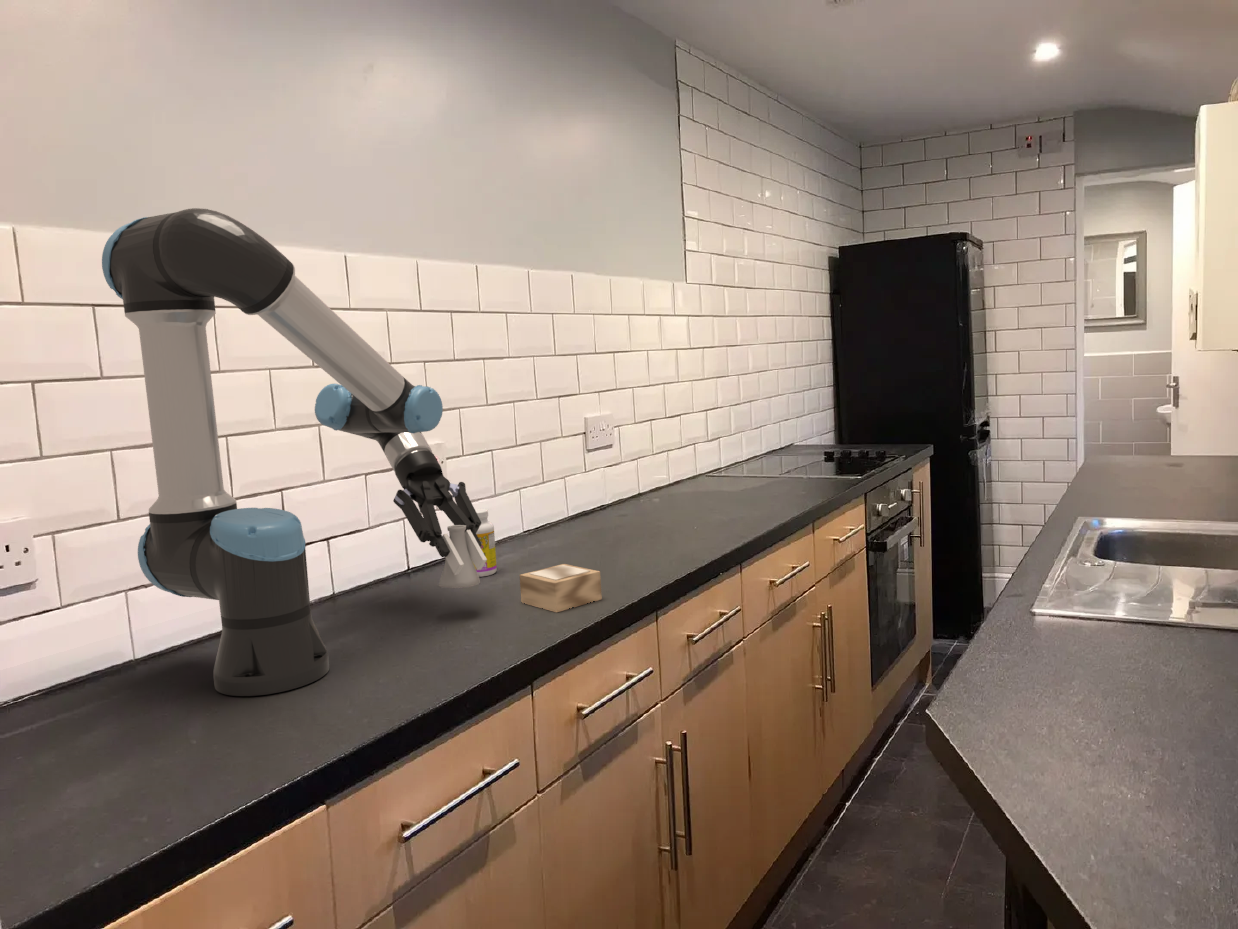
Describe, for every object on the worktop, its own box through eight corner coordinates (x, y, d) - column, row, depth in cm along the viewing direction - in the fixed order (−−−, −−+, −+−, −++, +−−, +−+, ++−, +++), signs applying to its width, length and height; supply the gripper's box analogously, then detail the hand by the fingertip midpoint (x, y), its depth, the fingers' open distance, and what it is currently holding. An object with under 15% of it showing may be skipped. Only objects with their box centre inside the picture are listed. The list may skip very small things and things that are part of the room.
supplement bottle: (458, 577, 181) (452, 513, 180) (472, 569, 188) (468, 508, 186) (488, 578, 179) (483, 513, 178) (502, 570, 186) (498, 507, 184)
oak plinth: (556, 612, 152) (554, 582, 152) (521, 602, 160) (519, 573, 159) (601, 599, 159) (600, 570, 158) (565, 590, 166) (564, 562, 166)
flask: (472, 590, 149) (469, 529, 148) (430, 589, 151) (427, 529, 150) (487, 580, 156) (484, 523, 156) (447, 580, 158) (444, 523, 157)
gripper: (448, 472, 169) (504, 571, 158) (363, 482, 158) (418, 590, 147) (461, 444, 164) (520, 545, 154) (376, 452, 153) (433, 562, 142)
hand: (470, 567), depth 150 cm, fingers closed on flask, 4 cm apart
